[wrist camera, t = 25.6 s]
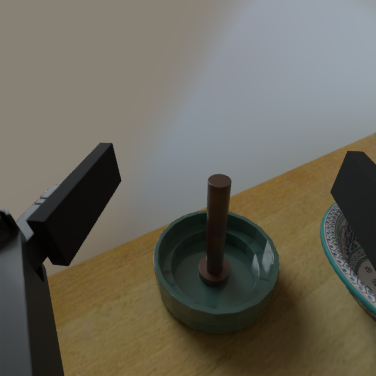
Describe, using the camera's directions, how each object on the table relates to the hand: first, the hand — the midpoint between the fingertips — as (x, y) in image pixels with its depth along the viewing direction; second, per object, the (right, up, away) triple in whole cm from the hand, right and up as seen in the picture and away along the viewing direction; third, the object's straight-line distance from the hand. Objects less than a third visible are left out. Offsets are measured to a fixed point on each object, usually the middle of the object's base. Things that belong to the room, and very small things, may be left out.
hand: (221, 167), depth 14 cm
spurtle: (+2, -14, +23) cm, 27 cm away
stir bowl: (+2, -15, +23) cm, 28 cm away
